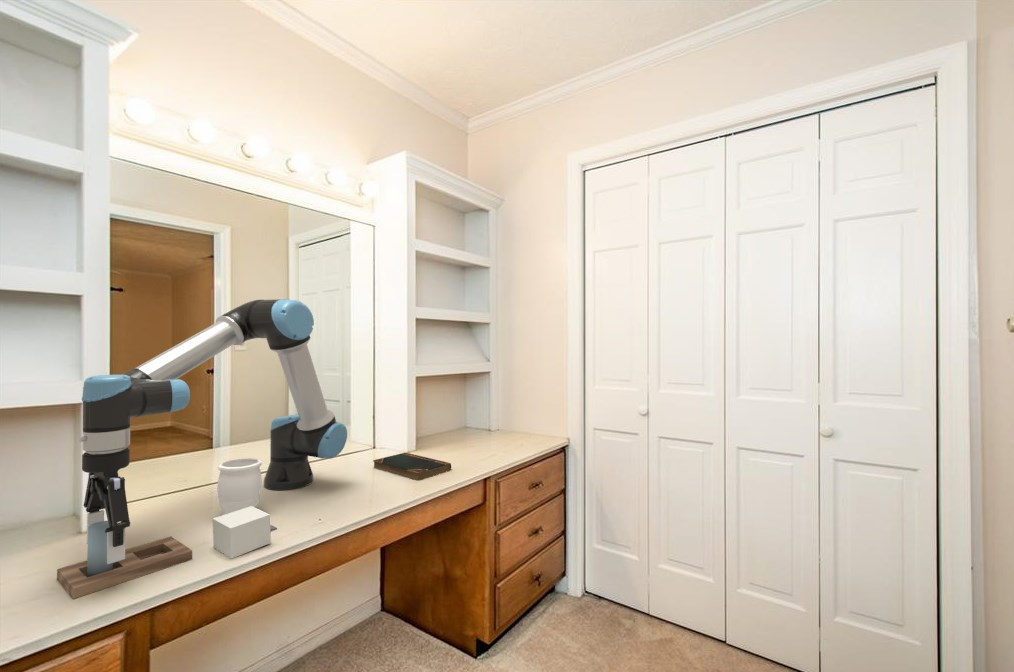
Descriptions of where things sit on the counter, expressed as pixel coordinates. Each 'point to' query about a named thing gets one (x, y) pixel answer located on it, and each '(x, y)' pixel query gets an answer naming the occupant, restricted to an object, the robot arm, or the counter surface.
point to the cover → (241, 531)
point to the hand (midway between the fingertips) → (105, 551)
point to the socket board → (124, 567)
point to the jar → (239, 484)
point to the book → (411, 466)
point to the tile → (272, 528)
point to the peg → (97, 549)
